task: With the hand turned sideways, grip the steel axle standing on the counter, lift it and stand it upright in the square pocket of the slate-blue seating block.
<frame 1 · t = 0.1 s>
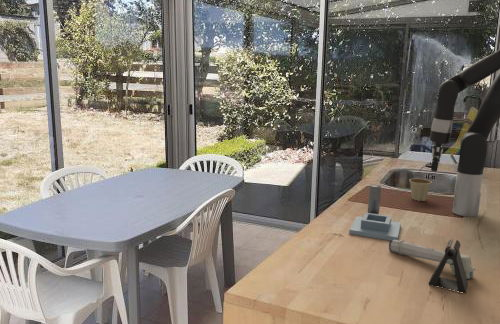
hand: (433, 169, 176), 17 cm above the worktop, tool pointing down, fingers open, 8 cm apart
seating block: (375, 229, 154), on the worktop
steel axle: (373, 214, 170), on the worktop
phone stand: (448, 285, 115), on the worktop
flower pot: (418, 199, 193), on the worktop
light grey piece: (428, 264, 127), on the worktop
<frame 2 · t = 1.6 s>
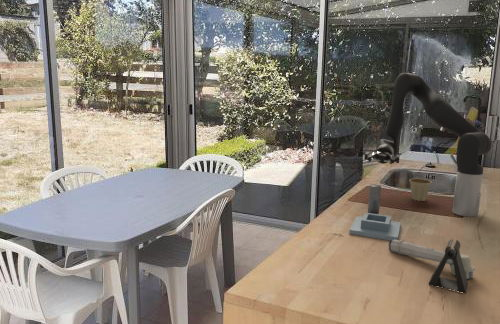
hand: (380, 160, 176), 20 cm above the worktop, tool horizontal, fingers open, 8 cm apart
nothing on the worktop moved.
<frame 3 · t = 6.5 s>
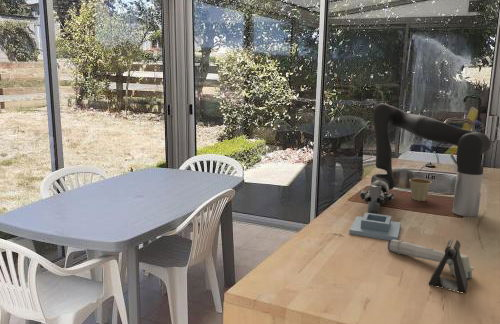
hand: (373, 200, 167), 7 cm above the worktop, tool horizontal, fingers closed on steel axle, 4 cm apart
steel axle: (373, 214, 170), on the worktop, touching gripper
everything else where it was.
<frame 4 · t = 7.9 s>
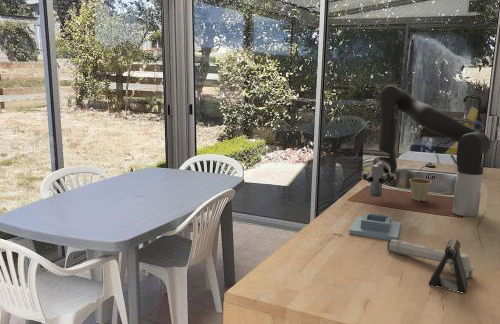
hand: (375, 180, 165), 15 cm above the worktop, tool horizontal, fingers closed on steel axle, 4 cm apart
steel axle: (375, 195, 168), point 8 cm above the worktop, touching gripper
everything else where it was.
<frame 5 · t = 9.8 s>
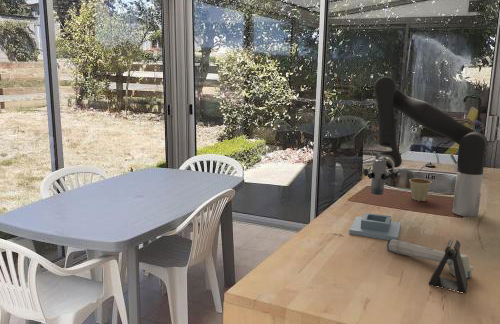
hand: (377, 176, 149), 20 cm above the worktop, tool horizontal, fingers closed on steel axle, 4 cm apart
steel axle: (376, 193, 153), point 13 cm above the worktop, touching gripper
everything else where it was.
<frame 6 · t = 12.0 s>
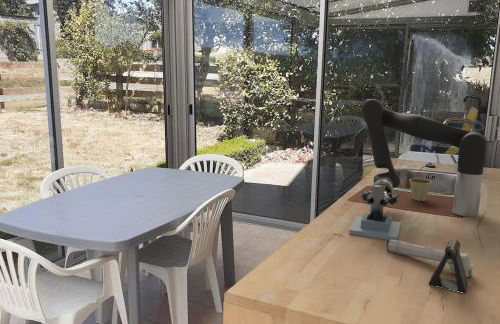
hand: (376, 202, 149), 11 cm above the worktop, tool horizontal, fingers closed on steel axle, 4 cm apart
steel axle: (375, 218, 153), point 4 cm above the worktop, touching gripper
everything else where it was.
when the fingers open (10 cm above the worktop, at t = 13.2 s): steel axle drops 2 cm, resting on seating block.
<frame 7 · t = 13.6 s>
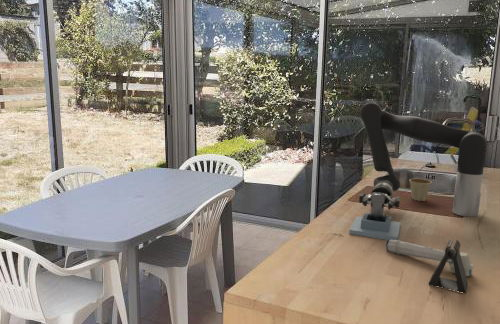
hand: (377, 205, 150), 10 cm above the worktop, tool horizontal, fingers open, 8 cm apart
steel axle: (375, 225, 154), point 2 cm above the worktop, touching seating block
everything else where it was.
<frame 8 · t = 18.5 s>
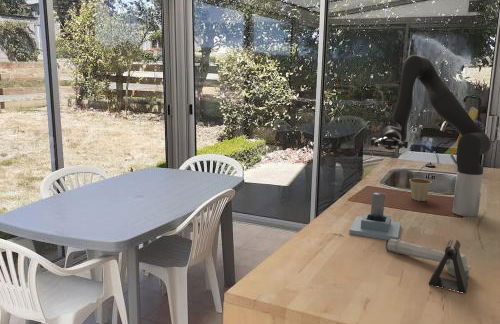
hand: (387, 145, 166), 28 cm above the worktop, tool horizontal, fingers open, 8 cm apart
at the end: steel axle 0.1 cm off-centre on the seating block, point 1.5 cm above the seating block's base; steel axle tilted 0°; the gripper is holding nothing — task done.
